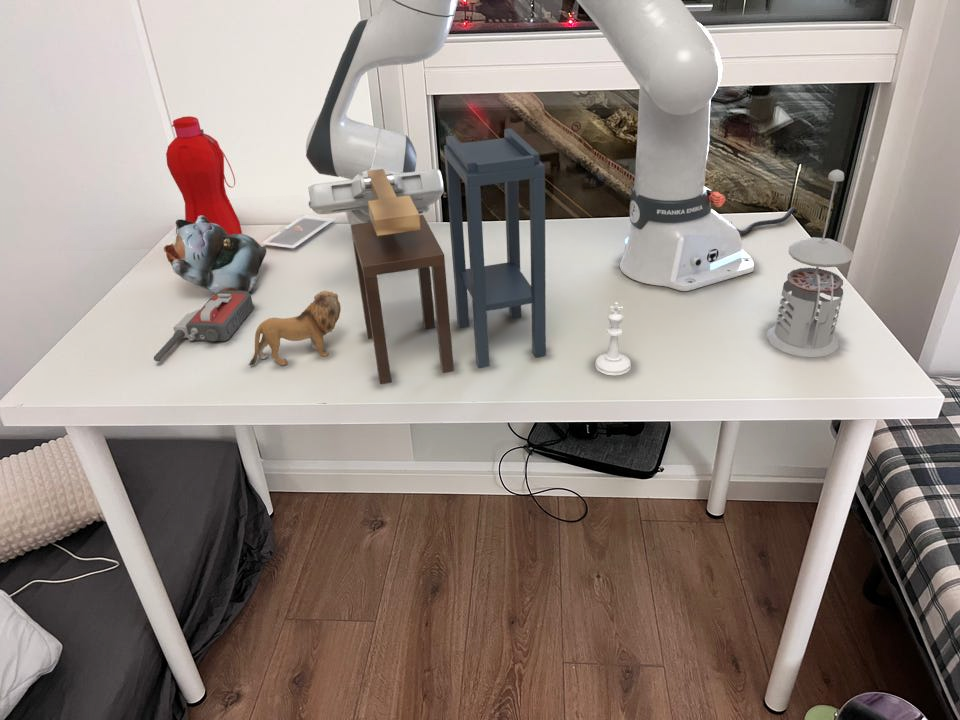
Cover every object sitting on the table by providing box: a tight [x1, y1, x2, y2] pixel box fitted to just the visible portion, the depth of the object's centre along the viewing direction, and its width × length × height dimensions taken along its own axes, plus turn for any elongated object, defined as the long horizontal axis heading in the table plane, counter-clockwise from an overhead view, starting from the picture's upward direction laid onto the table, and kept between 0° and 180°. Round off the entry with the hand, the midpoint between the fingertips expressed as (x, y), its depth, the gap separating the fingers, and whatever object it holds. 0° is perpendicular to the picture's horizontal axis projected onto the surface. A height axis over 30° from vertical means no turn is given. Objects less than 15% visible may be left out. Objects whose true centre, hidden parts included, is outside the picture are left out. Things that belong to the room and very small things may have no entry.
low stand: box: [350, 214, 455, 385], centre depth 107 cm, size 10×14×18 cm
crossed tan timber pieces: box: [367, 169, 420, 236], centre depth 103 cm, size 6×20×2 cm, turn 14°
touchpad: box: [259, 214, 336, 249], centre depth 150 cm, size 8×15×2 cm, turn 158°
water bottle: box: [165, 116, 243, 235], centre depth 141 cm, size 9×11×25 cm
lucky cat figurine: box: [163, 215, 267, 294], centre depth 130 cm, size 15×12×14 cm
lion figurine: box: [248, 290, 342, 367], centre depth 110 cm, size 15×5×9 cm, turn 117°
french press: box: [766, 169, 854, 358], centre depth 102 cm, size 10×12×25 cm
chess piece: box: [594, 301, 632, 377], centre depth 103 cm, size 5×5×10 cm
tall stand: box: [443, 127, 547, 369], centre depth 105 cm, size 10×14×29 cm
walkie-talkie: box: [153, 290, 254, 362], centre depth 118 cm, size 9×4×20 cm
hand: (379, 181), depth 108 cm, fingers closed on crossed tan timber pieces, 2 cm apart
